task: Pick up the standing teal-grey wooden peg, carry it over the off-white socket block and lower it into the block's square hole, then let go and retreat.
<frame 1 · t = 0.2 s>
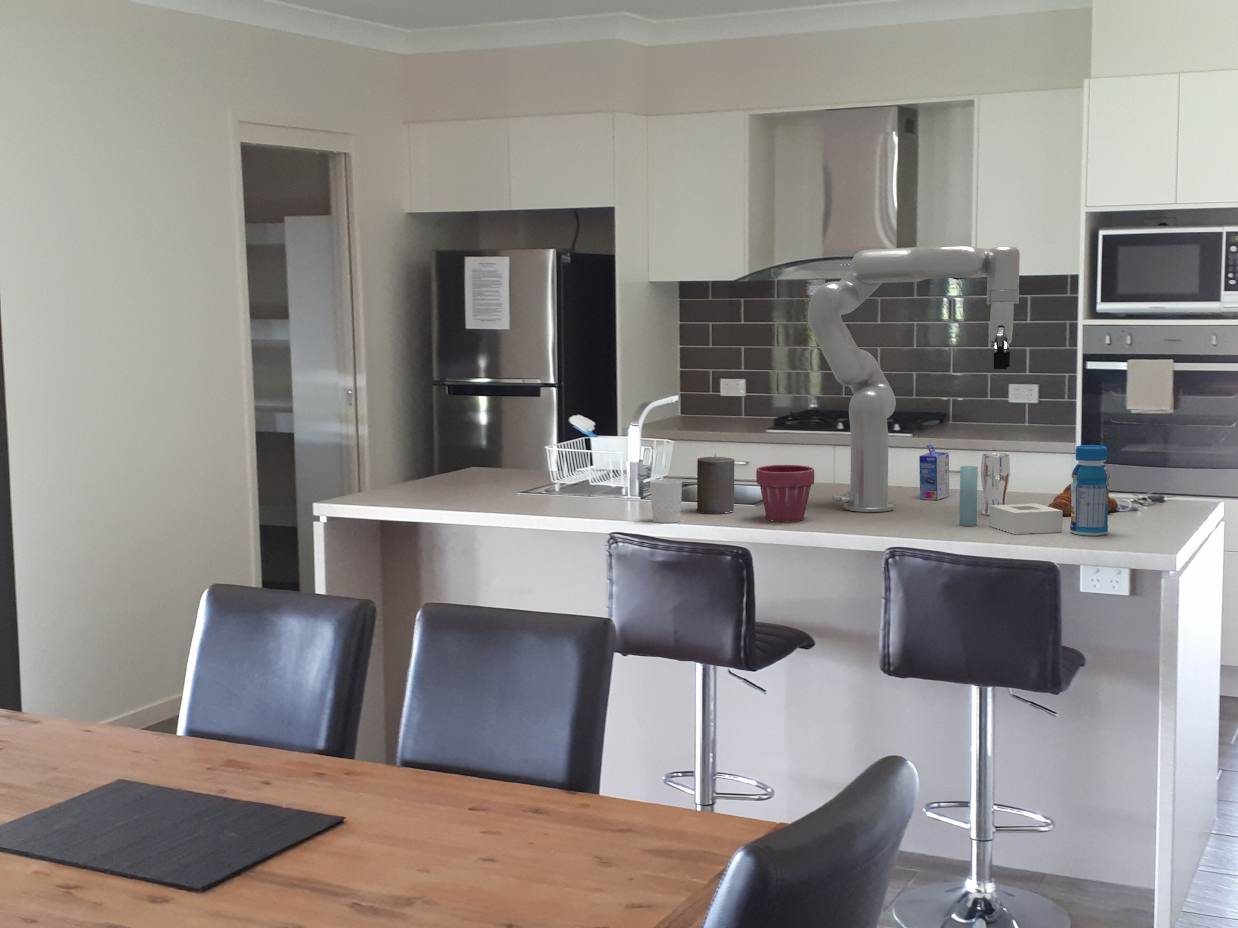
hand: (1001, 368, 328), 37 cm above the table, tool pointing down, fingers open, 9 cm apart
pastry: (1082, 514, 335), on the table
beverage bottle: (1088, 534, 305), on the table
peg: (967, 525, 319), on the table
white cup: (666, 521, 330), on the table
ink cartridge box: (934, 498, 365), on the table
pillar candle: (715, 512, 344), on the table
plant pot: (785, 520, 330), on the table
socket block: (1025, 529, 312), on the table
beer glass: (994, 514, 335), on the table
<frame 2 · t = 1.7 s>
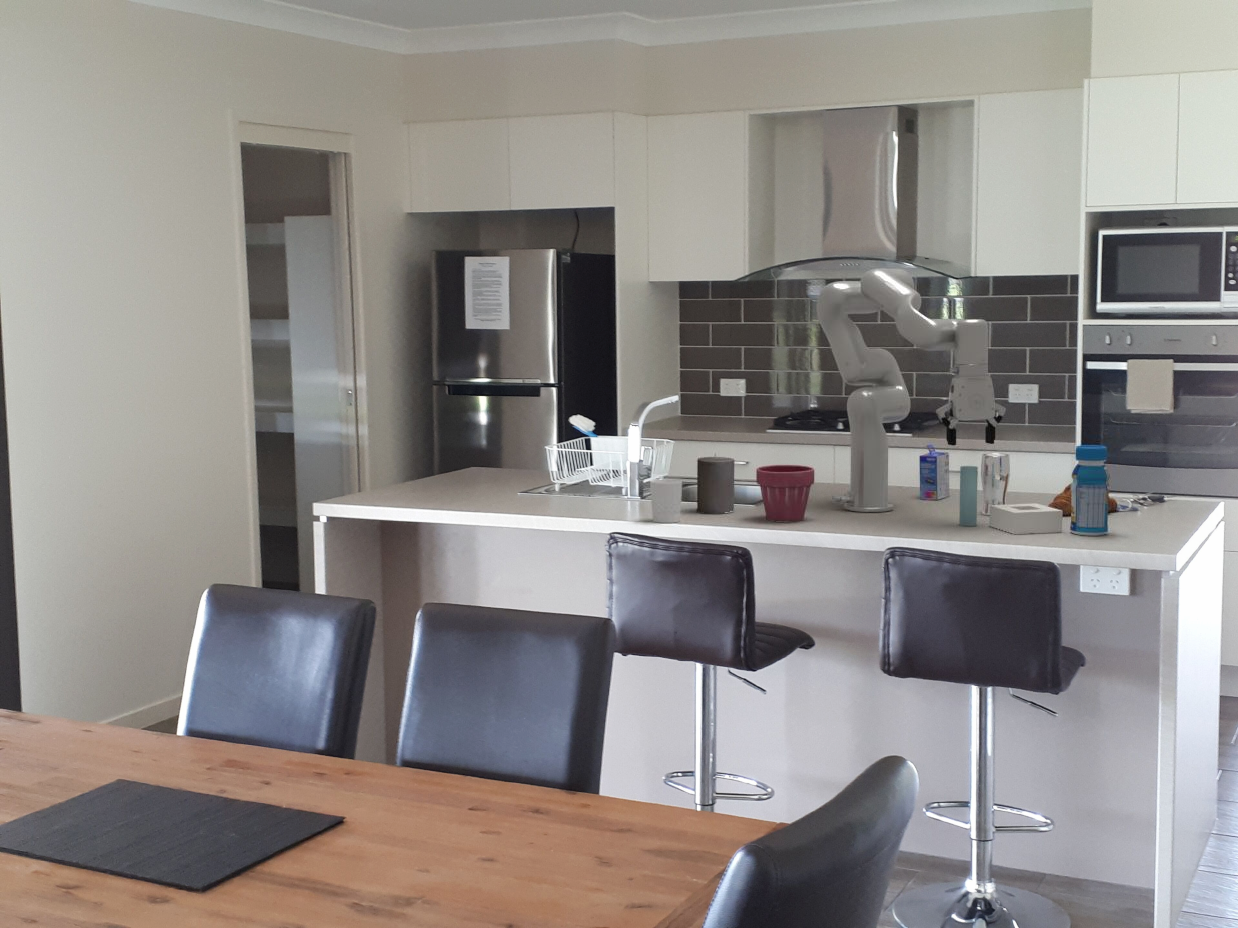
hand: (970, 444, 316), 19 cm above the table, tool pointing down, fingers open, 9 cm apart
nothing on the table moved.
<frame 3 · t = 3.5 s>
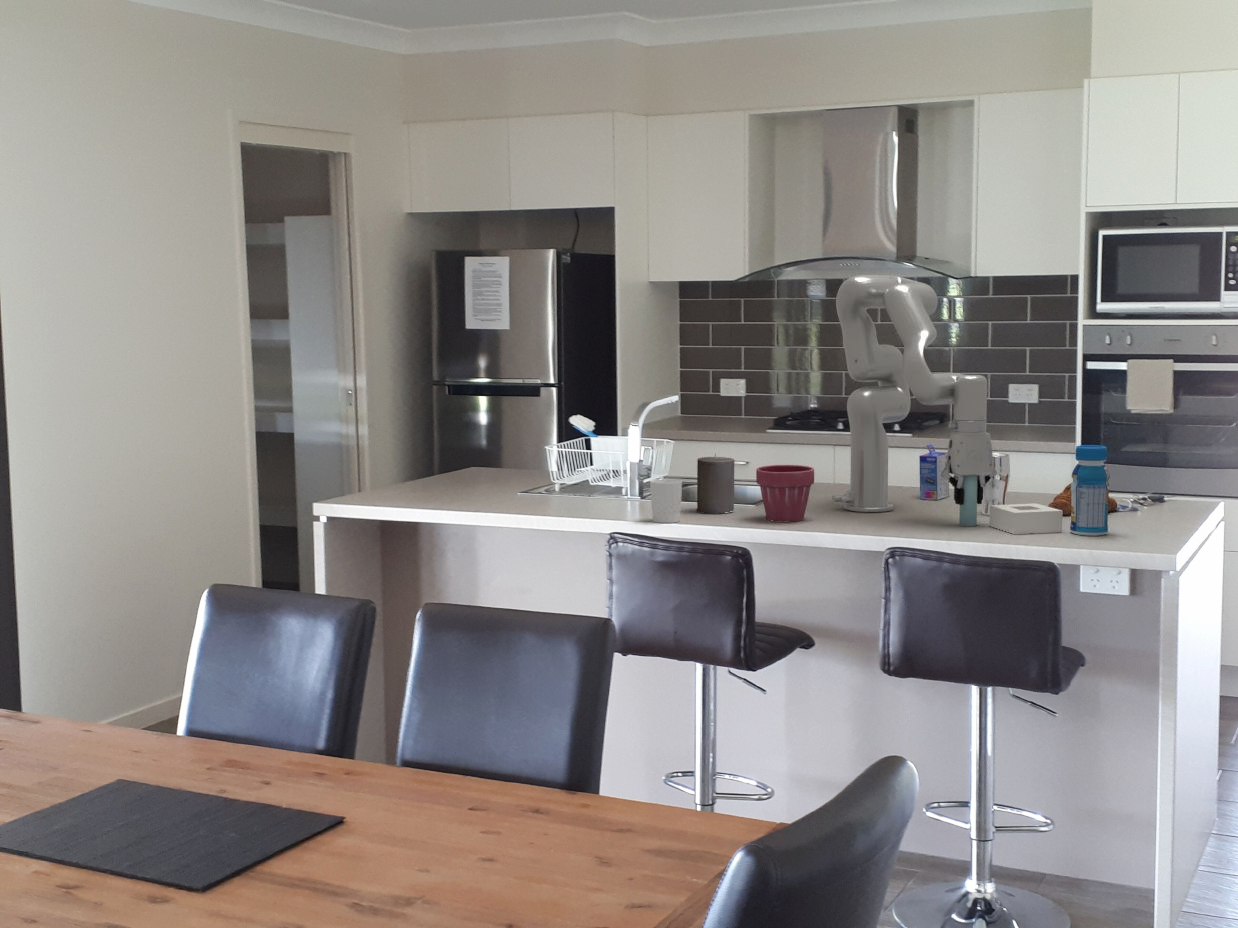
hand: (968, 502, 318), 5 cm above the table, tool pointing down, fingers closed on peg, 4 cm apart
peg: (967, 525, 319), on the table, touching gripper
everything else where it was.
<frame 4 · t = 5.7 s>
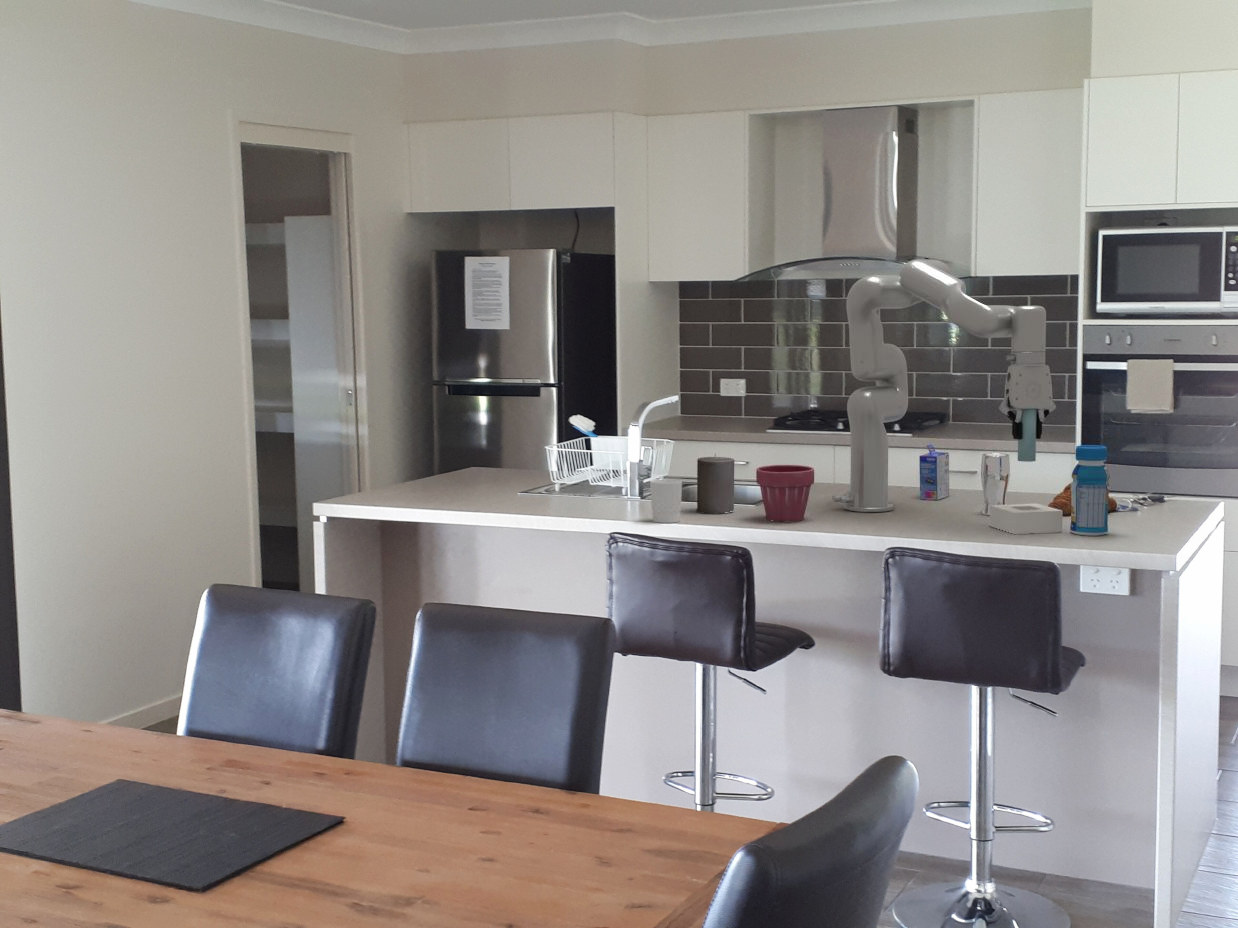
hand: (1026, 438, 309), 21 cm above the table, tool pointing down, fingers closed on peg, 4 cm apart
peg: (1026, 460, 310), point 16 cm above the table, touching gripper
everything else where it was.
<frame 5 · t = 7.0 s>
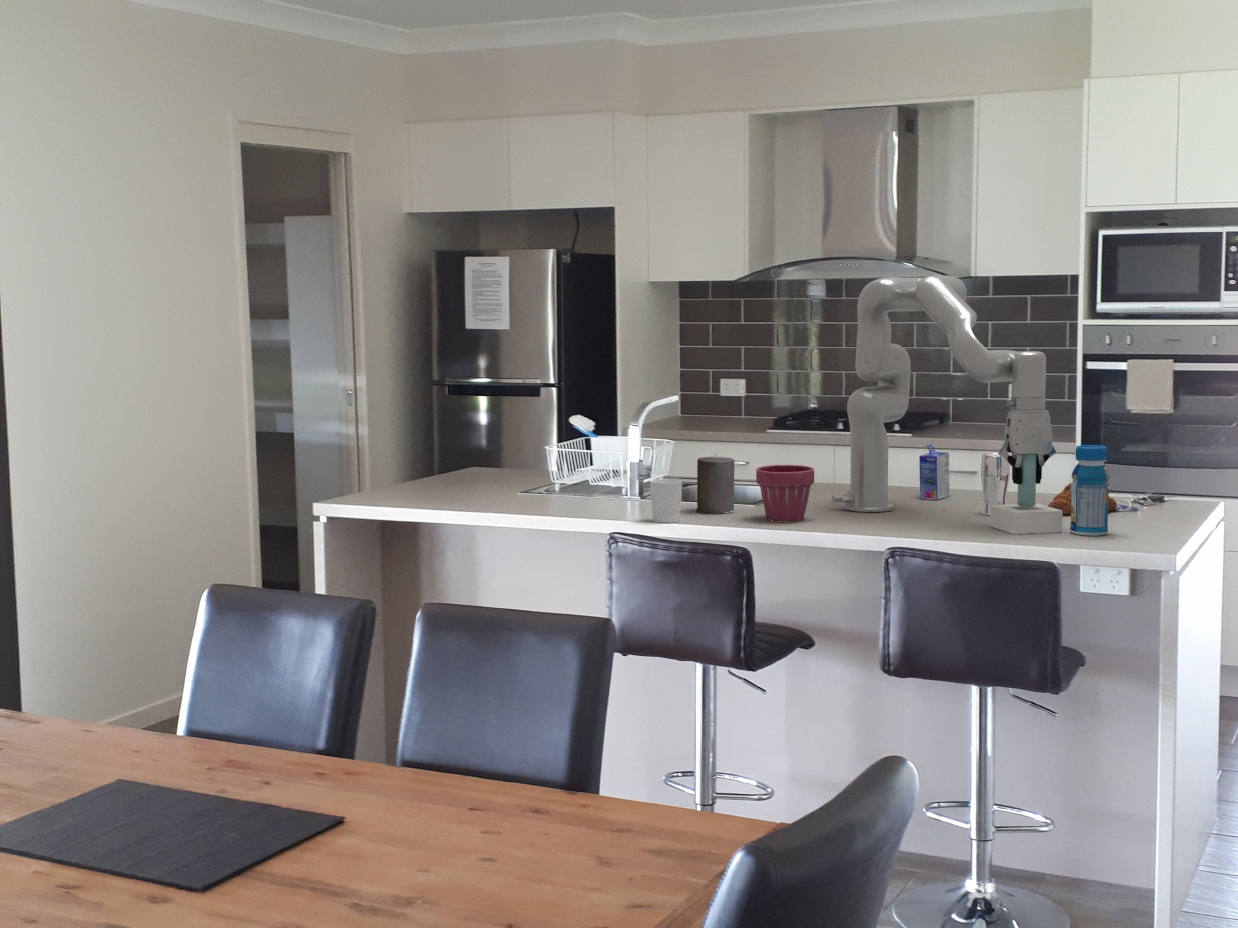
hand: (1026, 482, 310), 11 cm above the table, tool pointing down, fingers closed on peg, 4 cm apart
peg: (1026, 505, 311), point 6 cm above the table, touching gripper
everything else where it was.
when the fingers open (7 cm above the table, at t = 8.1 s): peg drops 1 cm, resting in socket block.
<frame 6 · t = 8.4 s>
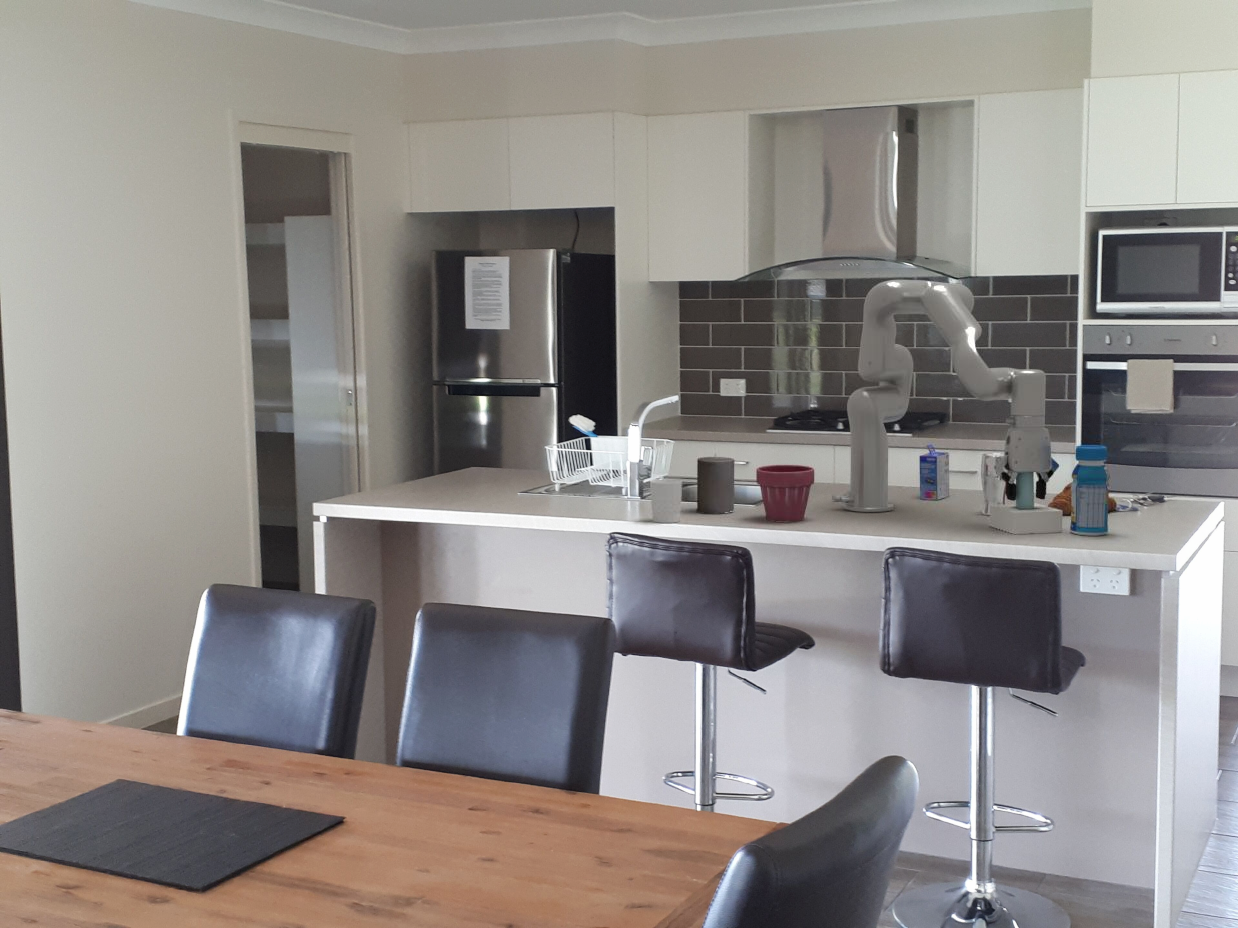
hand: (1025, 498, 311), 7 cm above the table, tool pointing down, fingers open, 6 cm apart
peg: (1025, 528, 312), resting in socket block
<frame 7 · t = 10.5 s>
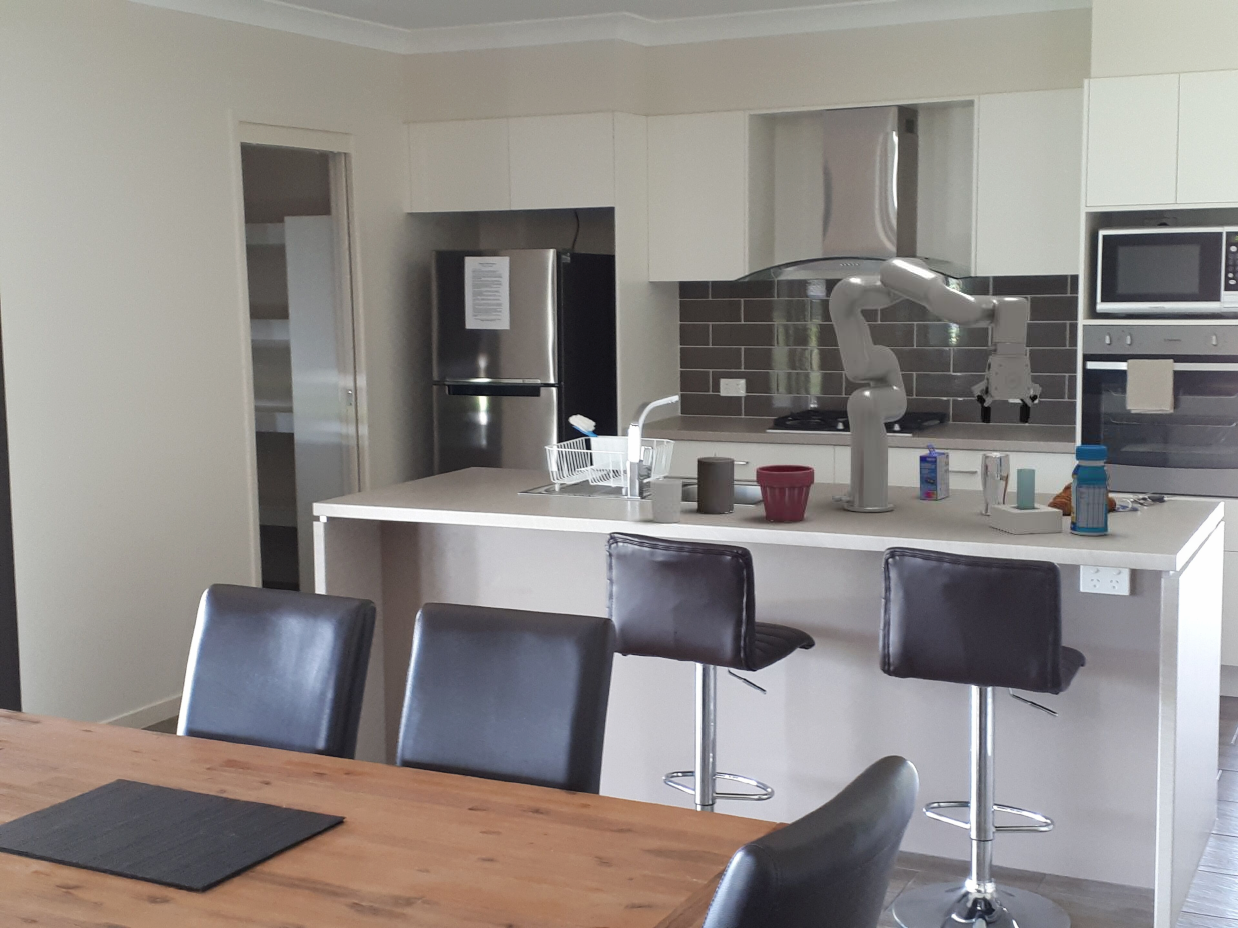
hand: (1004, 422, 315), 24 cm above the table, tool pointing down, fingers open, 9 cm apart
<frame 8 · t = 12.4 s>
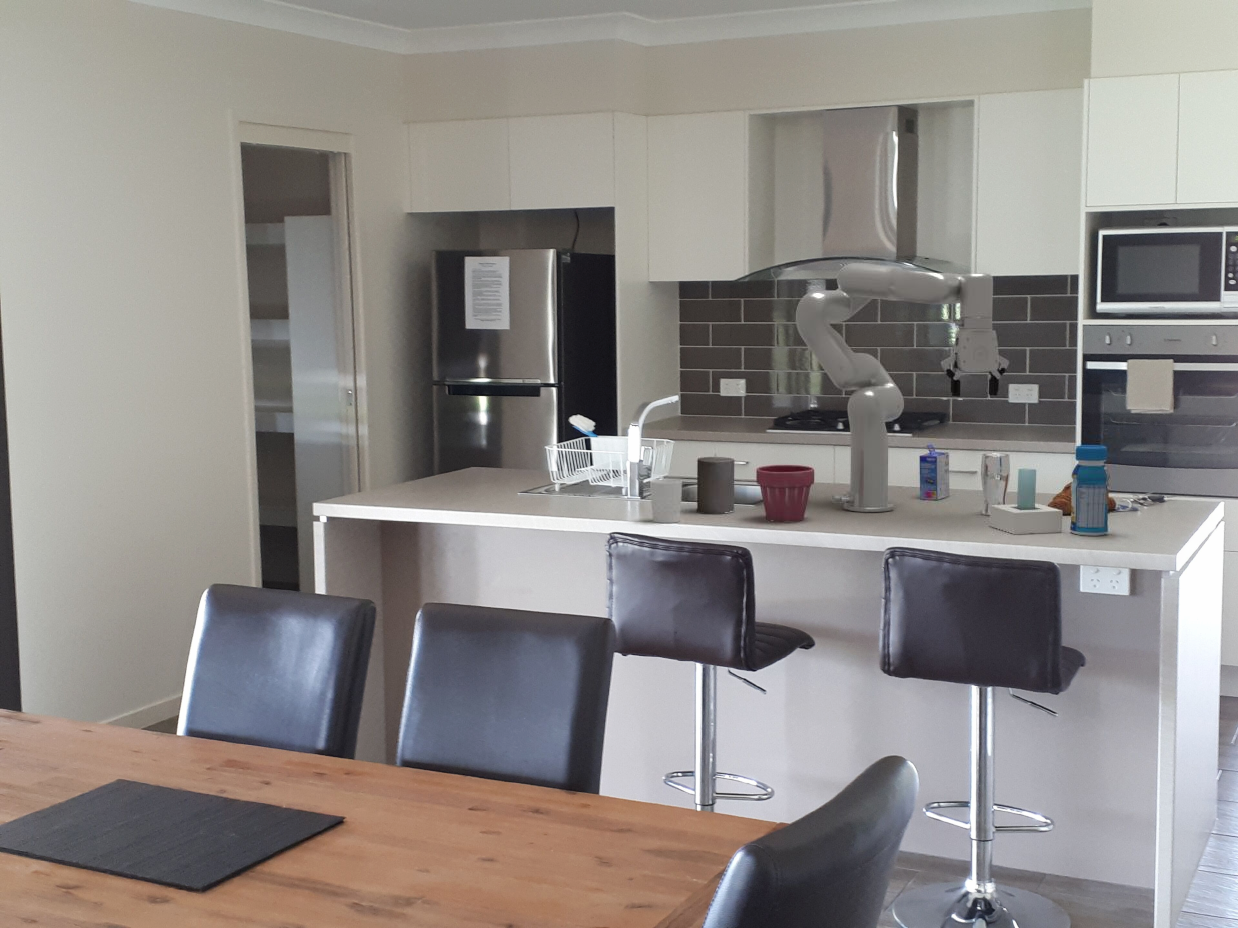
hand: (974, 395, 324), 30 cm above the table, tool pointing down, fingers open, 9 cm apart
at the end: peg 0.0 cm off-centre on the socket block, point 0.0 cm above the socket block's base; peg tilted 1°; the gripper is holding nothing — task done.
